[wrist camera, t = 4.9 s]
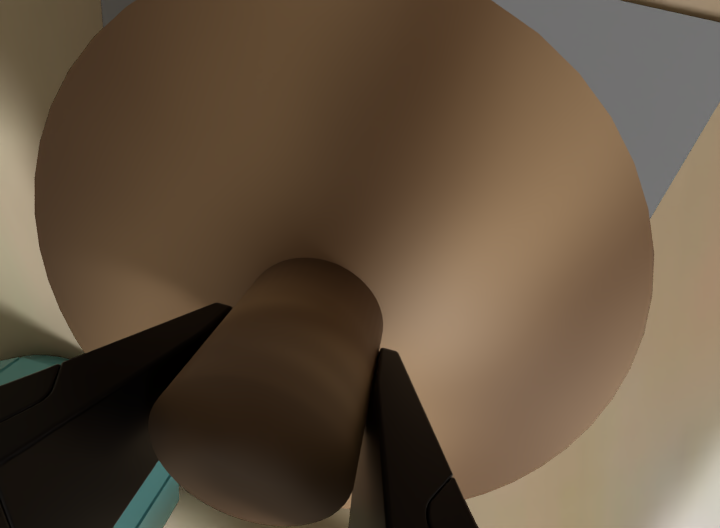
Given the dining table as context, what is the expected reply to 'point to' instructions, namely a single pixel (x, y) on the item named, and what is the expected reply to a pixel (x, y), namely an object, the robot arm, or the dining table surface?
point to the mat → (627, 73)
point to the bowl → (159, 489)
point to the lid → (346, 235)
